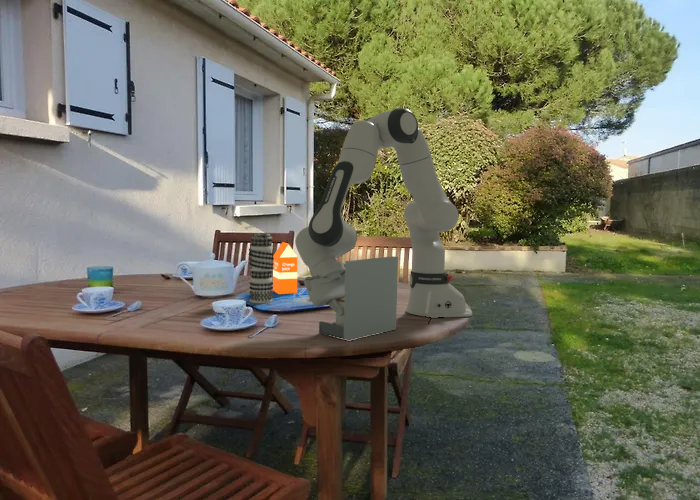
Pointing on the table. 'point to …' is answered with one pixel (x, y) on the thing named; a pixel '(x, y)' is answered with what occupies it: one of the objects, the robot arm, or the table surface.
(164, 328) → the table surface
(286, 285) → the orange juice
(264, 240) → the decorative candle
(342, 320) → the grey tea canister
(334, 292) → the robot arm
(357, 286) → the wall board
